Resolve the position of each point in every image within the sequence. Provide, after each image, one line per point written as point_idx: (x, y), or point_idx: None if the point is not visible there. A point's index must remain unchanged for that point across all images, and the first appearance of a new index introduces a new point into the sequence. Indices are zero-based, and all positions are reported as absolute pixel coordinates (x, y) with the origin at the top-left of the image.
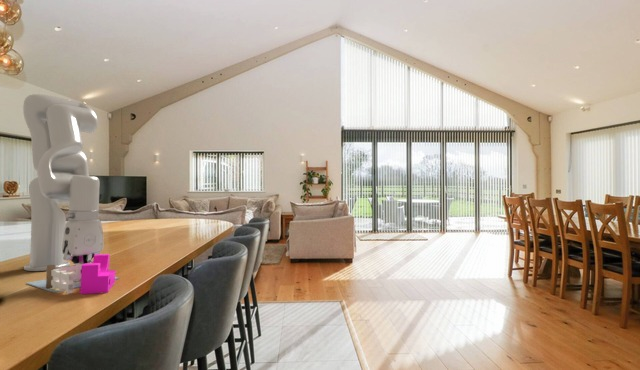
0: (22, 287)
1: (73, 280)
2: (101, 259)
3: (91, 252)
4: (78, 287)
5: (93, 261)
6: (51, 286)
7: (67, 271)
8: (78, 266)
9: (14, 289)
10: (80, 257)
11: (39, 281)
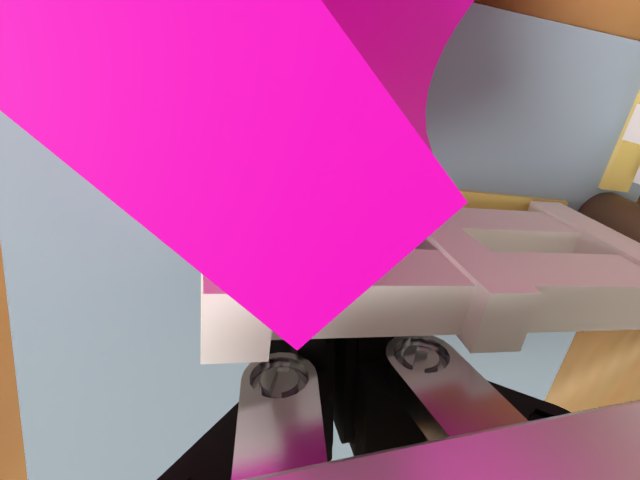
0: (579, 397)
1: None
2: None
3: (377, 458)
4: (519, 14)
5: (422, 126)
6: (624, 198)
7: (587, 256)
8: (499, 270)
9: (623, 385)
10: (498, 426)
11: None
